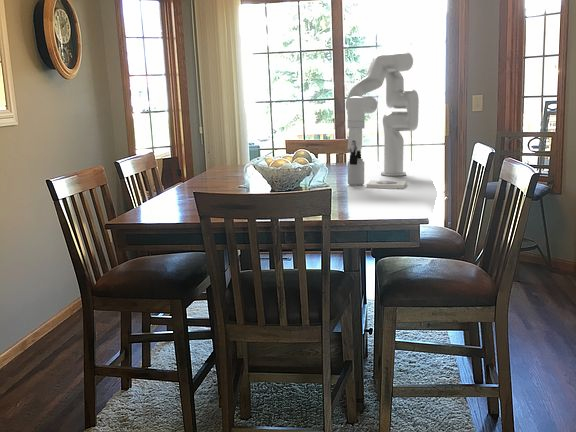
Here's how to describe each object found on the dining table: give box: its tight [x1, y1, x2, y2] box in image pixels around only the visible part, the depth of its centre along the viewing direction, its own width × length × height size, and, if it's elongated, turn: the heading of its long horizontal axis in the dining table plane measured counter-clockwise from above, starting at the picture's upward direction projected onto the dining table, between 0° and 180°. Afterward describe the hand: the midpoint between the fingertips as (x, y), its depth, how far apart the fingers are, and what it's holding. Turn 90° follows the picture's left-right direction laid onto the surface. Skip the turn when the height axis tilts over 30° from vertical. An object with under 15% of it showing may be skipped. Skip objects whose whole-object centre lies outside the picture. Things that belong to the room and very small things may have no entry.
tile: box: [365, 180, 407, 189], centre depth 272 cm, size 13×16×2 cm
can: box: [347, 158, 365, 187], centre depth 276 cm, size 8×8×12 cm
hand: (355, 163), depth 274 cm, fingers open, 9 cm apart
